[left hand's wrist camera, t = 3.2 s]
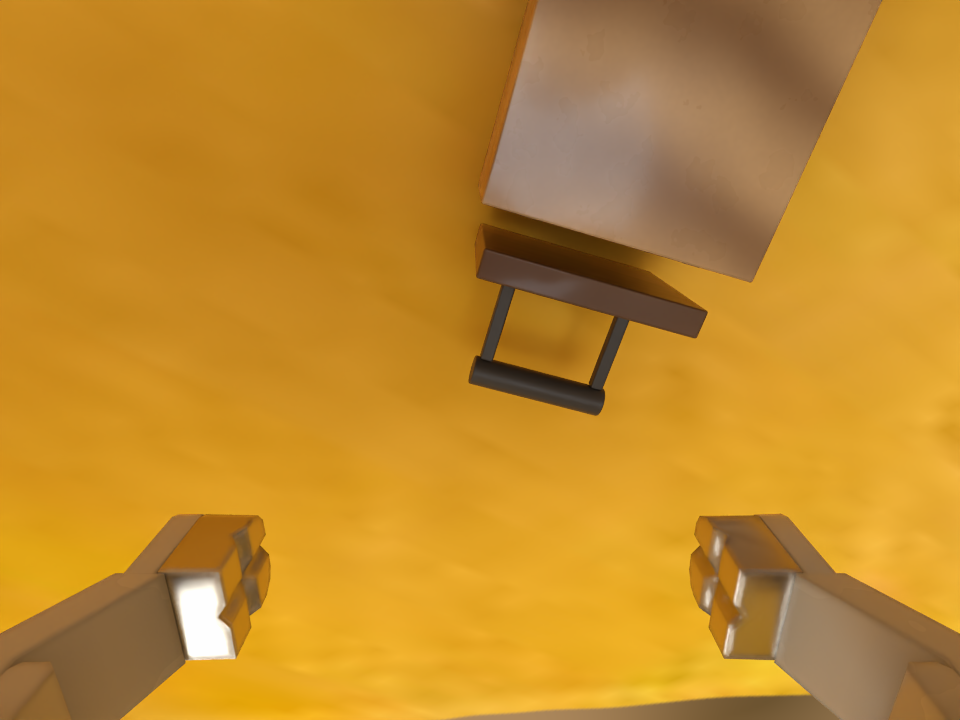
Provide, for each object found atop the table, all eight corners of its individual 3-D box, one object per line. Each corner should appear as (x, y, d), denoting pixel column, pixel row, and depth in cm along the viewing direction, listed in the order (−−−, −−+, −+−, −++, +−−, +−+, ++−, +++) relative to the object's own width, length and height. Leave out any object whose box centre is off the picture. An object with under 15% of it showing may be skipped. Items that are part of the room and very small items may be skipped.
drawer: (603, 391, 32) (642, 462, 24) (445, 349, 31) (437, 411, 23) (745, 31, 25) (854, -15, 18) (552, -36, 24) (587, -113, 17)
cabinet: (666, 242, 30) (752, 283, 21) (477, 186, 29) (481, 203, 20) (786, -60, 25) (965, -178, 16) (566, -142, 24) (625, -319, 15)
